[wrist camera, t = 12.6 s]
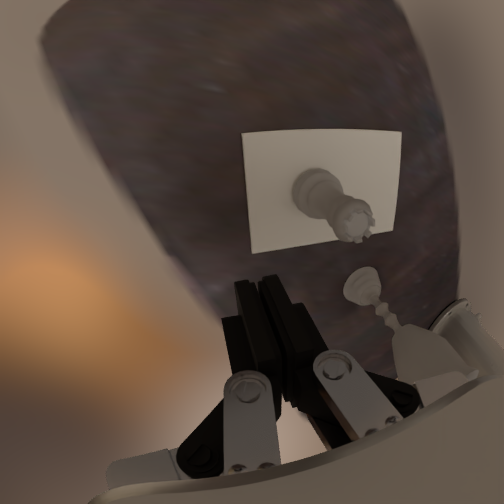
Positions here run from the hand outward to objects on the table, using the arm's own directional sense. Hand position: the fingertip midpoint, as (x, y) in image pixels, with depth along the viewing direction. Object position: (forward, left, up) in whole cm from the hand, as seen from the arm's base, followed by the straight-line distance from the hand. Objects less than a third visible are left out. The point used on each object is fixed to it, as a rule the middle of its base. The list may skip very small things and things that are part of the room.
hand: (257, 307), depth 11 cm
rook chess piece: (-8, 0, -14) cm, 16 cm away
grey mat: (-10, 0, -15) cm, 18 cm away
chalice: (-15, +13, -15) cm, 25 cm away
